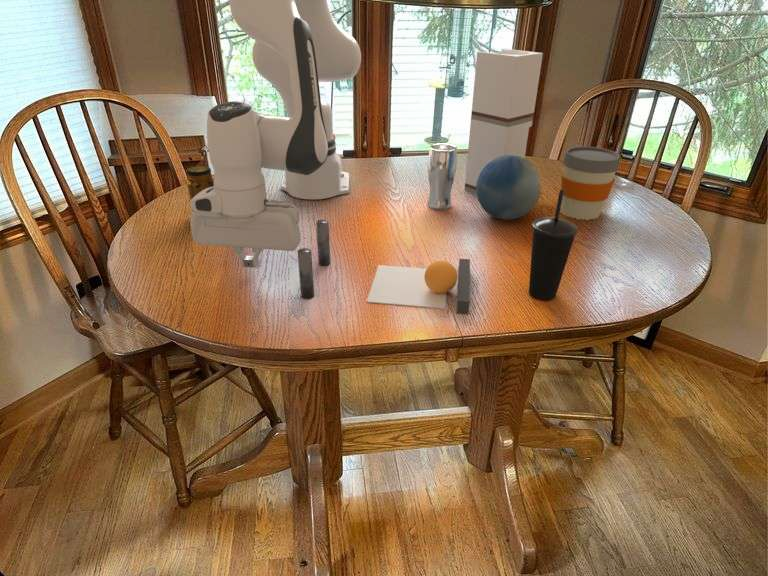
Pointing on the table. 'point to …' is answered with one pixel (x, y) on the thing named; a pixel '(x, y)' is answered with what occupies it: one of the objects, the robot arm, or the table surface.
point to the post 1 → (306, 273)
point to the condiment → (199, 180)
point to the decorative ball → (508, 187)
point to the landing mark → (404, 288)
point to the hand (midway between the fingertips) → (250, 266)
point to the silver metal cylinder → (441, 175)
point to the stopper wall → (463, 286)
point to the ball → (440, 276)
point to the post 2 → (323, 242)
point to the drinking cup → (550, 253)
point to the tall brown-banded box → (501, 108)
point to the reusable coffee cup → (587, 180)
